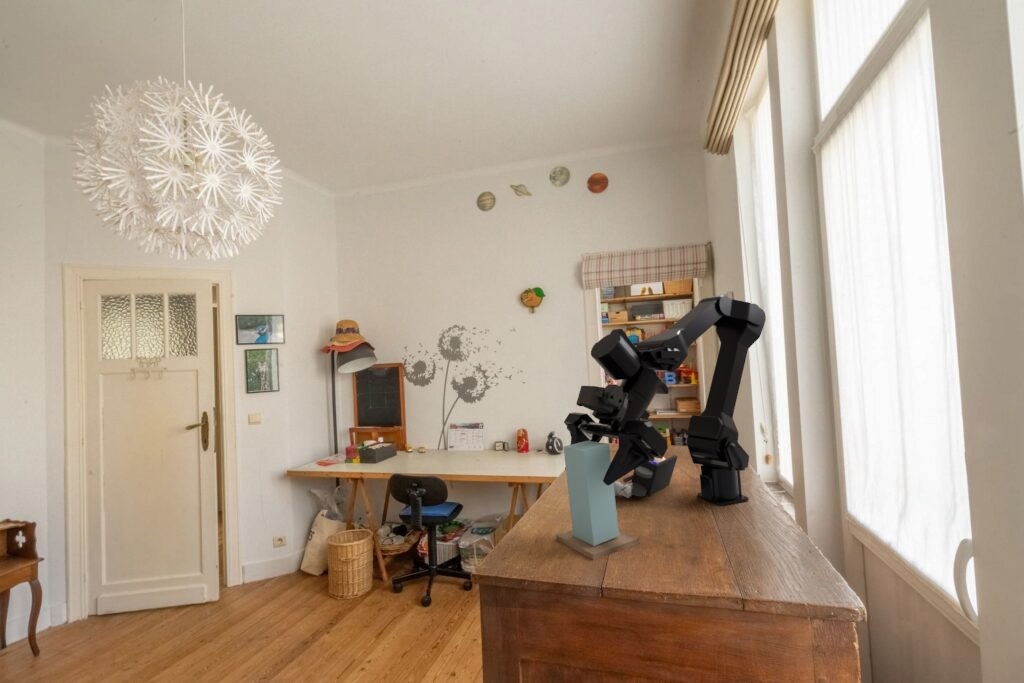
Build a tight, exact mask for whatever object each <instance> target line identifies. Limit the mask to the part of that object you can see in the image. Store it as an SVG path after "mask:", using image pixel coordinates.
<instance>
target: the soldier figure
mask: <svg viewBox="0 0 1024 683" xmlns="http://www.w3.org/2000/svg"><path fill="white" fill-rule="evenodd" d="M630 482H631V481H630ZM628 483H629V482H628ZM628 483H625V484H624V483H623V482H620V481H618V480H617V481H615V482H614V483H613V485H614V494H615V497H616V496H619V495H620V496H624V497H625V498H626V499H630V498H631V497H633V496H634V495H633V494H631V490H632V482H631V483H629V484H628Z"/></svg>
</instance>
